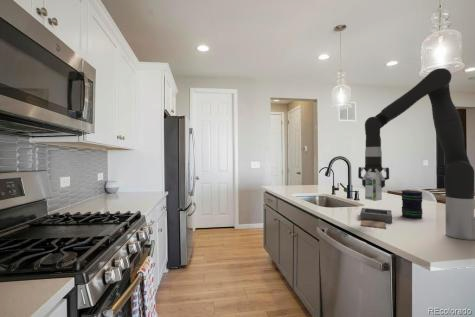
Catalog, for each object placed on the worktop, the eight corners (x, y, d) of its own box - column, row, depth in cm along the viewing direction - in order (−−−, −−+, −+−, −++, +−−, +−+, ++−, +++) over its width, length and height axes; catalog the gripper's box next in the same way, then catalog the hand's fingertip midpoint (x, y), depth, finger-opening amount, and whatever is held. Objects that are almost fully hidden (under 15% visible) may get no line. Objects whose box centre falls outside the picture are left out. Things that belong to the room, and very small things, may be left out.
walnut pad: (385, 223, 127) (385, 222, 127) (386, 228, 117) (386, 227, 117) (362, 220, 132) (362, 219, 132) (360, 225, 123) (360, 224, 123)
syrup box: (364, 199, 126) (364, 171, 126) (372, 198, 129) (371, 171, 129) (374, 201, 121) (374, 172, 121) (382, 200, 123) (382, 171, 123)
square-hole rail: (391, 217, 140) (390, 210, 140) (392, 223, 127) (392, 215, 127) (362, 214, 147) (362, 207, 147) (360, 219, 135) (360, 212, 135)
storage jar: (415, 215, 144) (415, 190, 144) (426, 219, 135) (426, 192, 135) (398, 214, 145) (397, 190, 145) (407, 219, 136) (407, 192, 136)
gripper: (357, 156, 125) (357, 187, 125) (389, 155, 118) (389, 188, 118) (358, 156, 132) (358, 185, 132) (389, 155, 124) (389, 187, 124)
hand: (373, 187), depth 125 cm, fingers closed on syrup box, 7 cm apart
